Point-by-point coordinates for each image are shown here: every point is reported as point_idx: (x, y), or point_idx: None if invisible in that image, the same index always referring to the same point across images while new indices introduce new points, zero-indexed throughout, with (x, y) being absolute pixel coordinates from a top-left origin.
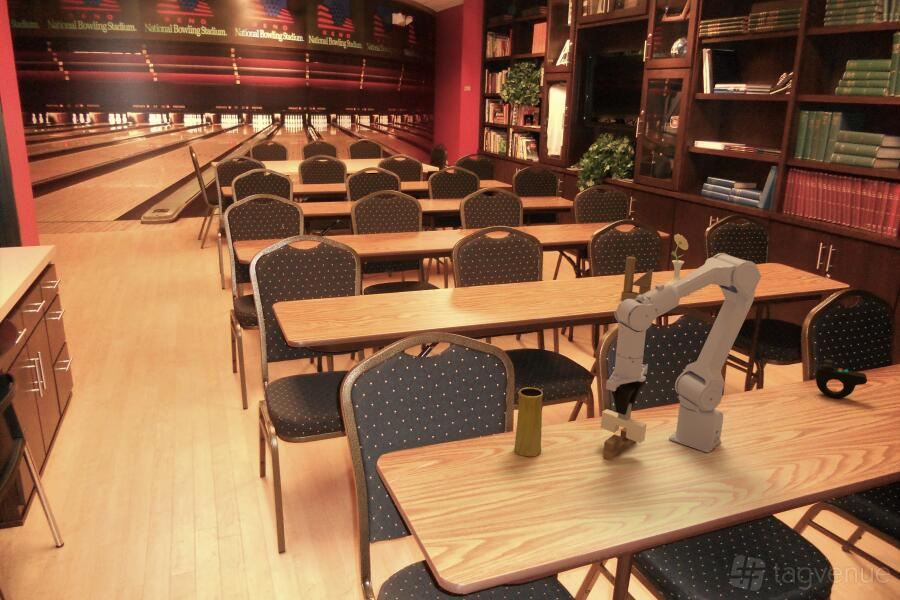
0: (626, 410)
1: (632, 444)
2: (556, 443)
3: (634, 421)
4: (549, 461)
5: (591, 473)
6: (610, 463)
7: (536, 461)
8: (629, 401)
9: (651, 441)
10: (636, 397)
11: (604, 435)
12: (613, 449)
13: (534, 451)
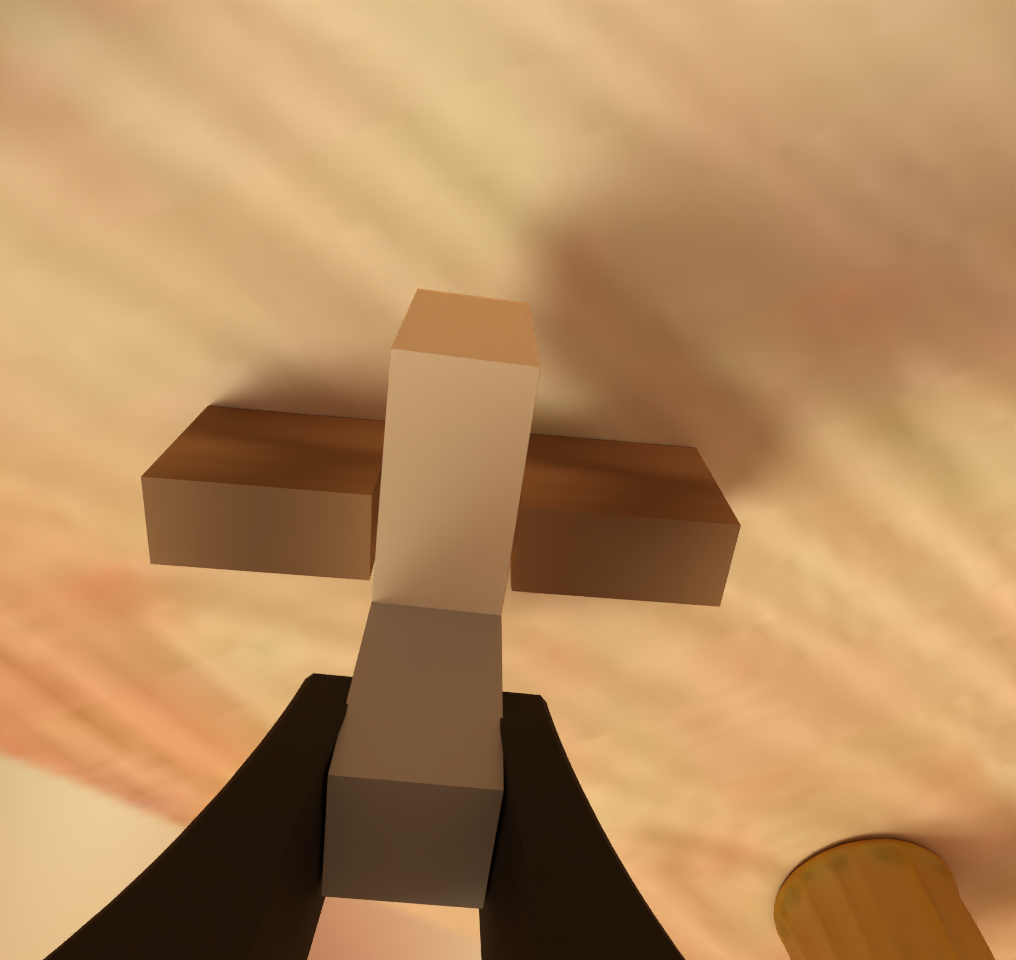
0: (530, 733)
1: (291, 413)
2: (665, 824)
3: (445, 518)
4: (940, 760)
5: (985, 487)
6: (743, 433)
7: (978, 812)
8: (312, 835)
9: (82, 292)
10: (189, 835)
11: (309, 646)
12: (694, 489)
13: (930, 877)
